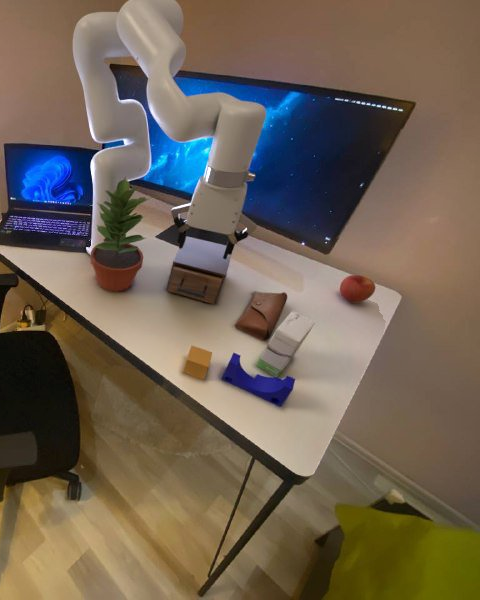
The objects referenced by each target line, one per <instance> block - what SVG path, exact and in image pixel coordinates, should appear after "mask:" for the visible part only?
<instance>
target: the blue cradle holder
mask: <svg viewBox="0 0 480 600" xmlns="http://www.w3.org/2000/svg"><path fill="white" fill-rule="evenodd" d="M241 356H242V355H241V354H238V353H235V352H233V353H232V355H231V356H230V358H229V361H228V363H227V365H226V367H225V370H224V372H223V374H222V376H221V380H222V381H224V382H226V383H228V384H230V385H232V386H234V387H236V388H239V389H241V390H244V391H245V392H247V393H250V394H252V395H254V396H256V397H258V398H260V399H261V400H264V401H266V402H269V403H271V404H273V405H275V406H277V407H279V408H281V407H282V405H283V404H284V403H285V402H286V400H287V399H288V397H289V396H290V395H291V393H292V392H293V391H294V386H295V382H296V378H294V377H292V376H290V375H286V376H285V377H284V378H283V379H282V378H280V377H279V376H278V377H275V376H265V375H261V374H260V373H257V374H256V375H255V376H254V377H253V376H252V375H250V374H249V373H247V372H246V370H244V369H243V367H242V364H241Z"/></svg>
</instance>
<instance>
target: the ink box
mask: <svg viewBox="0 0 480 600" xmlns="http://www.w3.org/2000/svg"><path fill="white" fill-rule="evenodd" d="M315 324H316V322H315V321H313V320H310V319H309V318H307V317H305V316H303V315H301V314H299V313H297V312H296V311H291V312H290V313H289V314H288V315H287V316H286V318H285V319H284V320H283V321H282V322H281V323H280V325H278V327H277V328H276V329H275V331H274V332H273V333H272V334H273V335H271V337H270V339H269V341H268V344H267V345H266V347H265V349H264V351H263V353H262V355H261V356H260V358H259V360H258V362H257V364H256V366H257V368H260V369H261V370H263V371H264V372H266V373H268V374H270V375H271V376H272V377H278V378H279V376H280V375H281V373H282V372H283V371H284V370H285V368H286V366H287V365H288V364H289V362H290V361H291V360H292V358H293V357H294V356H295V355H296V353H297V351H298V350H299V349H300V347H301V345H302V344H303V343H304V341H305V340H306V338H307V336H308V335H309V333H311V330H312V329H313V327H314V326H315Z"/></svg>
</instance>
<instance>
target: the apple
mask: <svg viewBox="0 0 480 600" xmlns="http://www.w3.org/2000/svg"><path fill="white" fill-rule="evenodd" d="M339 285H340V286H339V293H340V296H341V297H342V298H343V299H345V301H348V302H349V303H351V304H354V303H355V304H356V303H362V302H364V301H366V300H368V299H370V298H371V297H372V296H373V294H374V293H375V291H376V284H375V282H374V281H373V280H371V278H368V277H366V276H363V275H360V274H351V275H348V276H346V277H345V278H344V279H342V281H341V283H340V284H339Z"/></svg>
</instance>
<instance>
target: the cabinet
mask: <svg viewBox="0 0 480 600" xmlns="http://www.w3.org/2000/svg"><path fill="white" fill-rule="evenodd" d="M226 246H227V244H226V245H225V244H221V243H216V242H213V241H208V240H204V239H200V238H196V237H191V236H186V240H185V243H184V246H183V248H181V249H180V248H179V247H178V250H177V252H176V255H175V257H174V258H173V260H172V264H171V269H170V273H169V277H168V282H167V286H166V291H168V288H169V284H170V279H171V275H172V271H173V268H174V266H176V267H177V266H178V265H179V266H183V267H186V268H190V269H194V270H198V271H202V272H206V273H209V274H213V275H217V276H220V278H222V282H221V285H220V288H219V290H218V293H217V296H216V299H215V301H214V304H217V301H218V299H219V297H220V293H221V291H222V289H223V286H224V283H225V280H226V278H227V274H228V269H229V267H230V261H231V258H232V254H231V255H229V254H228V256H227V258H226V259H224V258H223V256H224V252H225V249H226Z"/></svg>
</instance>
